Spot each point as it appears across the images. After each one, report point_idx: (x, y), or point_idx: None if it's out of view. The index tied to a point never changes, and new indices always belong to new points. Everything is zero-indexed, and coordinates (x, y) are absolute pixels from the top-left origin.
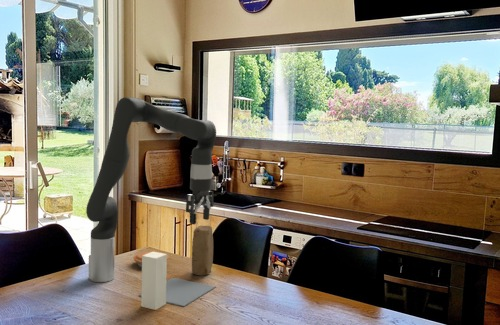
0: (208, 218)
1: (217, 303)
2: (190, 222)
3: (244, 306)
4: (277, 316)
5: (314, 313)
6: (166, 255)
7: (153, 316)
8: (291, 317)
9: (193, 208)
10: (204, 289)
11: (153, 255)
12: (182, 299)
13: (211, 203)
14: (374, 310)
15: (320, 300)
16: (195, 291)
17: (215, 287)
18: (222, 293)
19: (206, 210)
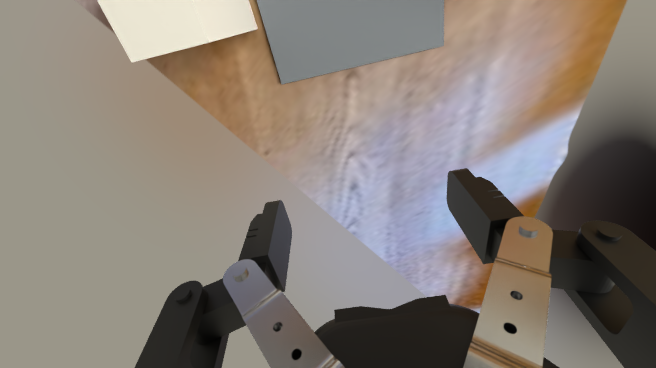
0: (454, 211)
1: (353, 126)
2: (258, 218)
3: (377, 176)
4: (376, 235)
5: (423, 262)
6: (208, 42)
7: (190, 70)
8: (387, 249)
9: (219, 358)
10: (404, 37)
11: (136, 8)
12: (306, 47)
13: (581, 309)
14: (481, 303)
15: None
16: (375, 28)
17: (442, 45)
18: (414, 92)
19: (482, 243)
